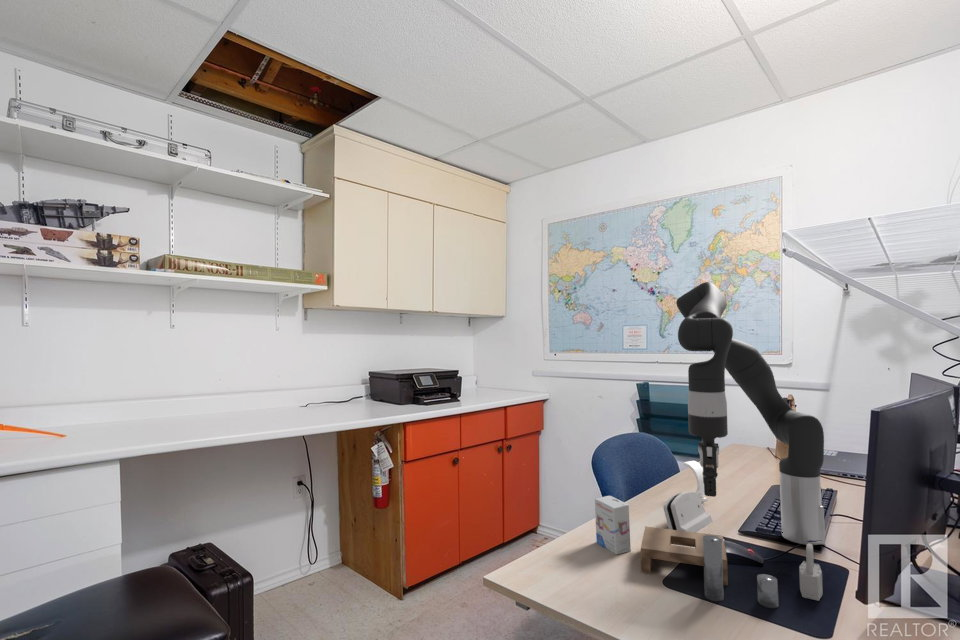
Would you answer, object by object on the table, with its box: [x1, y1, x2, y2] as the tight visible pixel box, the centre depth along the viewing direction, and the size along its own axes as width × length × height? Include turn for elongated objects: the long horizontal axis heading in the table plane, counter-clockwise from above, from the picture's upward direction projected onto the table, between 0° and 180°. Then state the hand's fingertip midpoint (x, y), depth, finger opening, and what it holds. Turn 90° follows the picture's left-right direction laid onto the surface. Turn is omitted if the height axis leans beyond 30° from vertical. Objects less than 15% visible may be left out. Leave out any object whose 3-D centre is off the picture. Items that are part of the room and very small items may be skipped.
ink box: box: [594, 495, 632, 555], centre depth 130 cm, size 9×5×12 cm, turn 23°
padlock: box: [798, 543, 824, 602], centre depth 106 cm, size 7×4×10 cm, turn 145°
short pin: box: [756, 573, 779, 609], centre depth 102 cm, size 4×4×5 cm
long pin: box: [703, 534, 725, 602], centre depth 105 cm, size 4×4×12 cm
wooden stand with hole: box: [640, 526, 729, 586], centre depth 119 cm, size 18×14×6 cm
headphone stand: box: [683, 460, 708, 503], centre depth 164 cm, size 5×6×12 cm
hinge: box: [663, 491, 714, 533], centre depth 143 cm, size 17×5×10 cm, turn 132°
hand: (709, 489), depth 105 cm, fingers open, 8 cm apart
